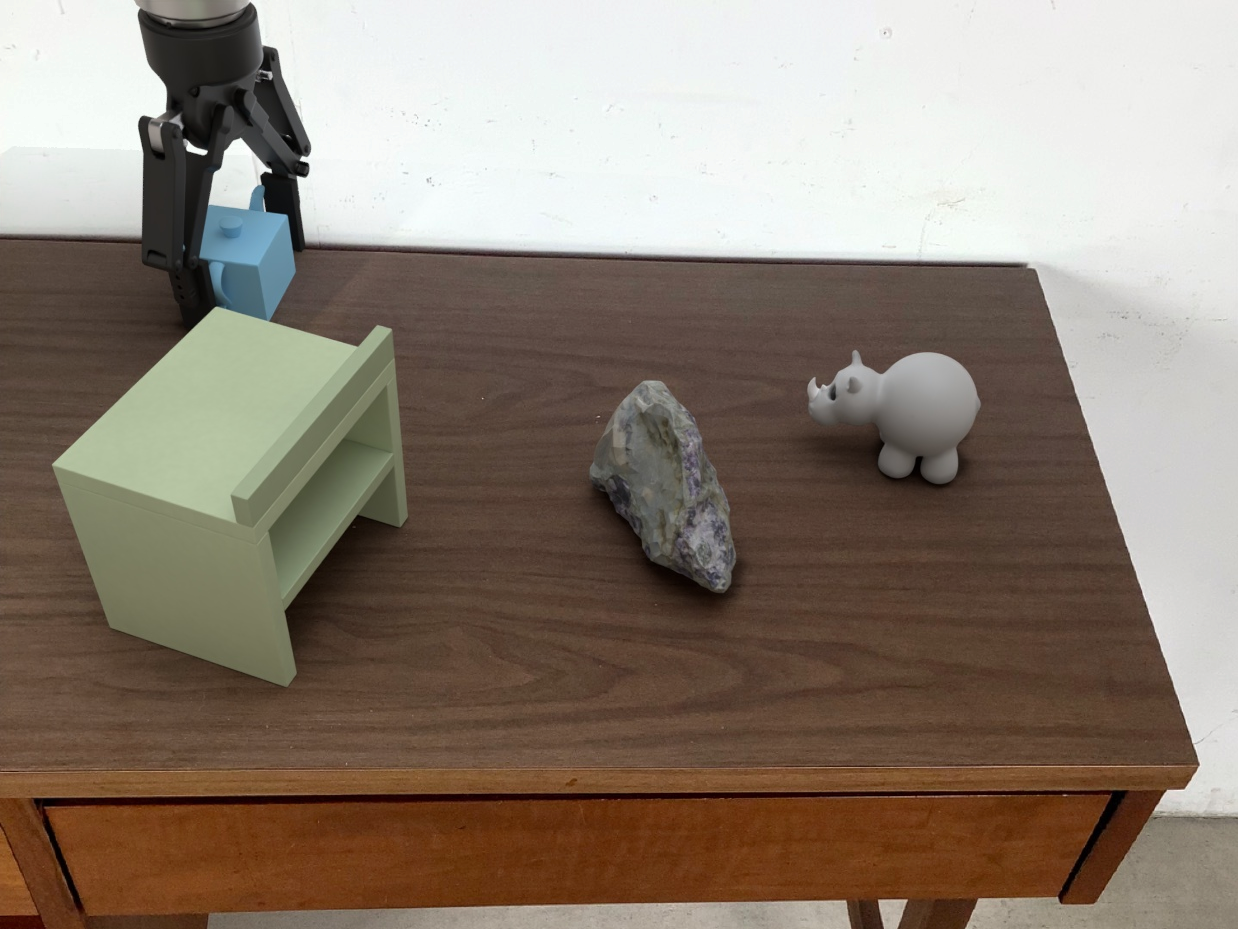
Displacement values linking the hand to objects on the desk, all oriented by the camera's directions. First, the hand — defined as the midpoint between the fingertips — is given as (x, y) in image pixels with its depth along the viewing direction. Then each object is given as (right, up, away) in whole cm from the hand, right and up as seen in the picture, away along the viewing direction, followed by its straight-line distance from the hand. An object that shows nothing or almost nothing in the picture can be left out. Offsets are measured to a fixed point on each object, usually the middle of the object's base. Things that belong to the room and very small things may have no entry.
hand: (248, 292), depth 99 cm
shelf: (+7, -23, -18) cm, 30 cm away
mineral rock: (+32, -20, -13) cm, 40 cm away
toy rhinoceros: (+48, -13, -5) cm, 50 cm away
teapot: (0, -1, +1) cm, 1 cm away
